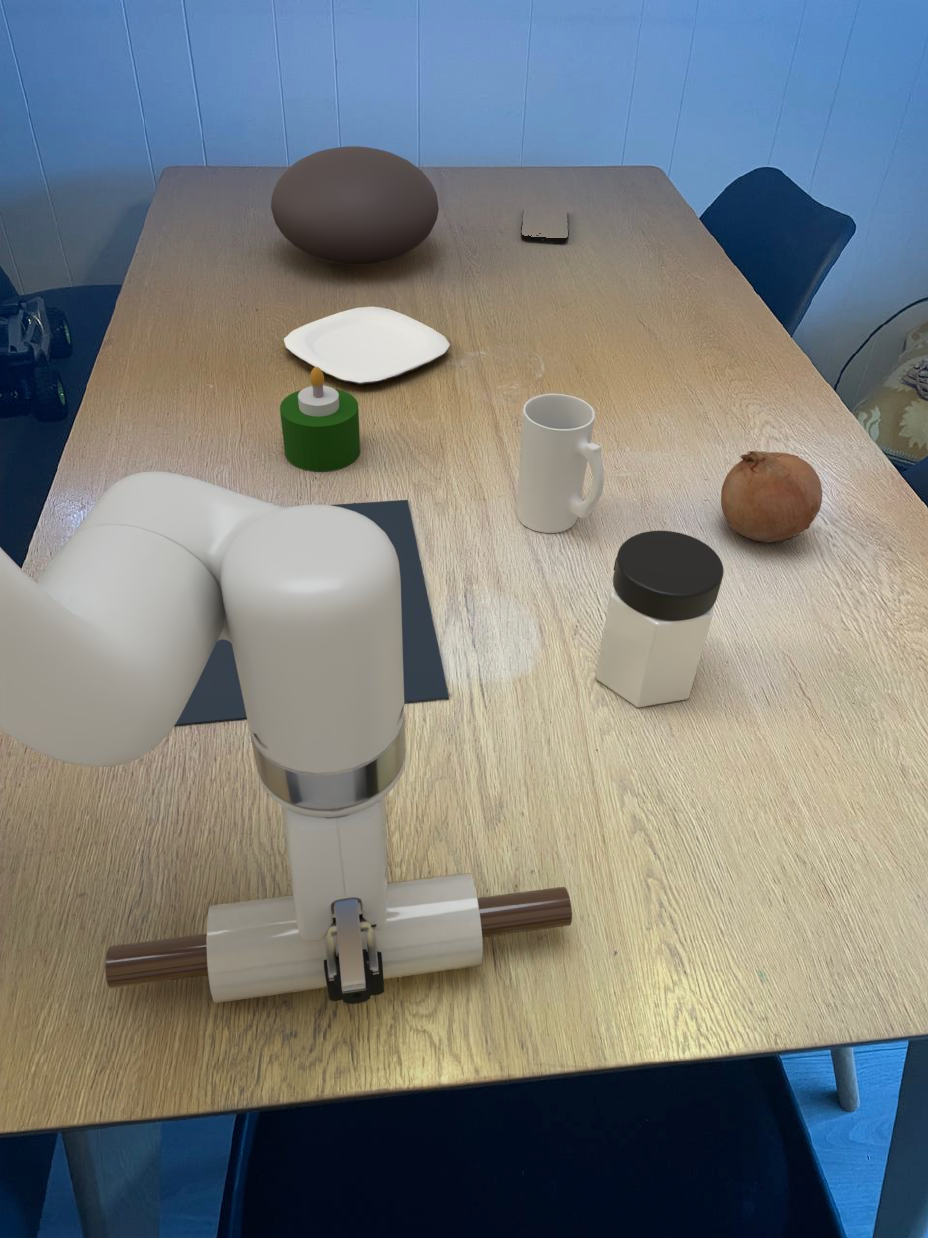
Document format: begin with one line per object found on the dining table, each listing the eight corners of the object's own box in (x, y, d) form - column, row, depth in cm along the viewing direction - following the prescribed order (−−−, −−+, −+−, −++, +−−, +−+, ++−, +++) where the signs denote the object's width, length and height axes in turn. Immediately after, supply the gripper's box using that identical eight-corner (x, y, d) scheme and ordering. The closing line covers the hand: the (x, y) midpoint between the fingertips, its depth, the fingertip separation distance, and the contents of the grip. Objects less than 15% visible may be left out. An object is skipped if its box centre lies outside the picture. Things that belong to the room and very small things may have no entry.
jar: (673, 631, 83) (701, 522, 75) (713, 697, 77) (748, 586, 69) (578, 646, 81) (596, 536, 73) (612, 714, 75) (635, 603, 67)
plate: (466, 356, 121) (466, 343, 120) (358, 402, 111) (357, 389, 110) (374, 310, 130) (374, 298, 129) (268, 349, 120) (266, 336, 119)
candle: (328, 480, 99) (322, 395, 92) (268, 455, 102) (258, 371, 95) (375, 446, 104) (372, 363, 97) (317, 423, 107) (311, 341, 100)
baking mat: (449, 699, 76) (449, 697, 76) (171, 726, 73) (170, 724, 73) (407, 501, 96) (407, 499, 96) (188, 515, 93) (188, 514, 93)
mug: (500, 510, 96) (508, 405, 88) (549, 489, 99) (561, 386, 91) (565, 560, 90) (580, 454, 82) (615, 536, 93) (635, 431, 85)
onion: (715, 551, 97) (689, 469, 92) (779, 503, 99) (757, 420, 94) (785, 574, 89) (760, 486, 84) (852, 522, 91) (832, 432, 86)
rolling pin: (551, 870, 63) (567, 852, 58) (567, 957, 61) (585, 946, 56) (121, 925, 59) (99, 911, 54) (120, 1021, 57) (96, 1015, 52)
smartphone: (569, 206, 161) (569, 238, 150) (568, 212, 161) (568, 244, 150) (523, 203, 161) (520, 234, 150) (523, 209, 162) (519, 240, 151)
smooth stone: (250, 242, 146) (237, 139, 136) (388, 217, 157) (387, 119, 147) (320, 301, 131) (312, 190, 121) (468, 268, 142) (472, 163, 132)
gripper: (253, 628, 52) (285, 812, 64) (253, 902, 40) (293, 1070, 51) (387, 615, 53) (395, 799, 65) (428, 879, 41) (429, 1048, 52)
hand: (350, 918), depth 58 cm, fingers open, 9 cm apart
